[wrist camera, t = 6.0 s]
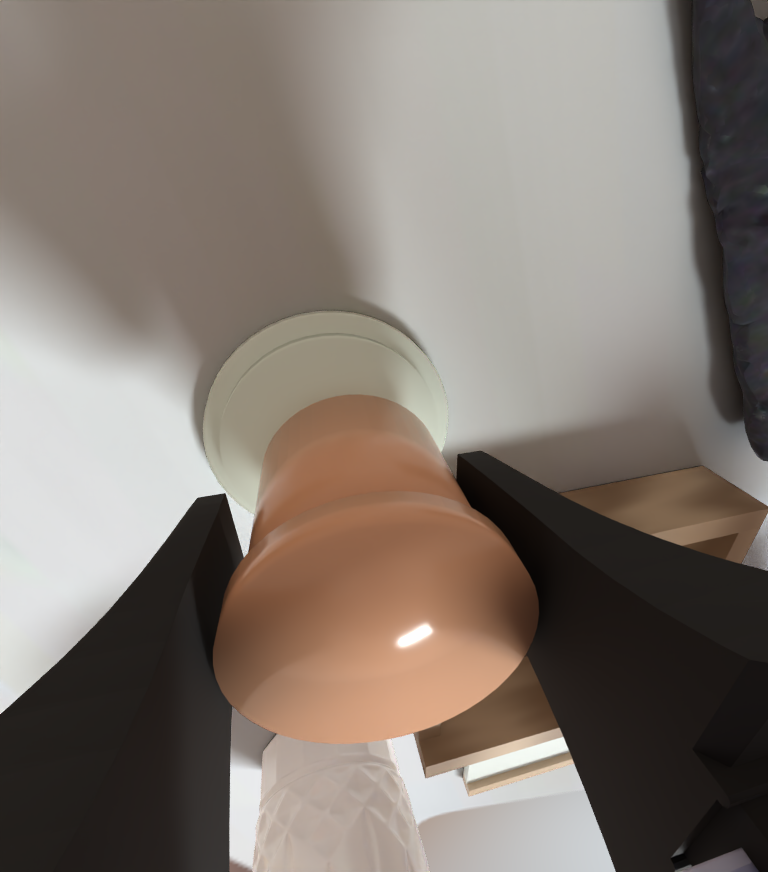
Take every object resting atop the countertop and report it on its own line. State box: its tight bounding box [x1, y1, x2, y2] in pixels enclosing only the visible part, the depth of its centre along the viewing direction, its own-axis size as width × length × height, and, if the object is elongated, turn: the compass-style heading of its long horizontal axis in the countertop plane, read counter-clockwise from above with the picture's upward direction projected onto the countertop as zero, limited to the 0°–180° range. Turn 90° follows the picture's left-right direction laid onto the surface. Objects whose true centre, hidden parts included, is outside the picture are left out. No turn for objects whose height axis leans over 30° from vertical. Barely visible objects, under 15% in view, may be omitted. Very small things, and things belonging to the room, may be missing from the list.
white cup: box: [252, 734, 430, 872], centre depth 19 cm, size 8×8×10 cm
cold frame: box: [414, 466, 768, 778], centre depth 19 cm, size 14×11×4 cm
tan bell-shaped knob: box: [213, 394, 539, 744], centre depth 10 cm, size 6×6×6 cm
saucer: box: [203, 310, 448, 514], centre depth 13 cm, size 8×8×1 cm
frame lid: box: [463, 737, 574, 796], centre depth 27 cm, size 10×10×1 cm
